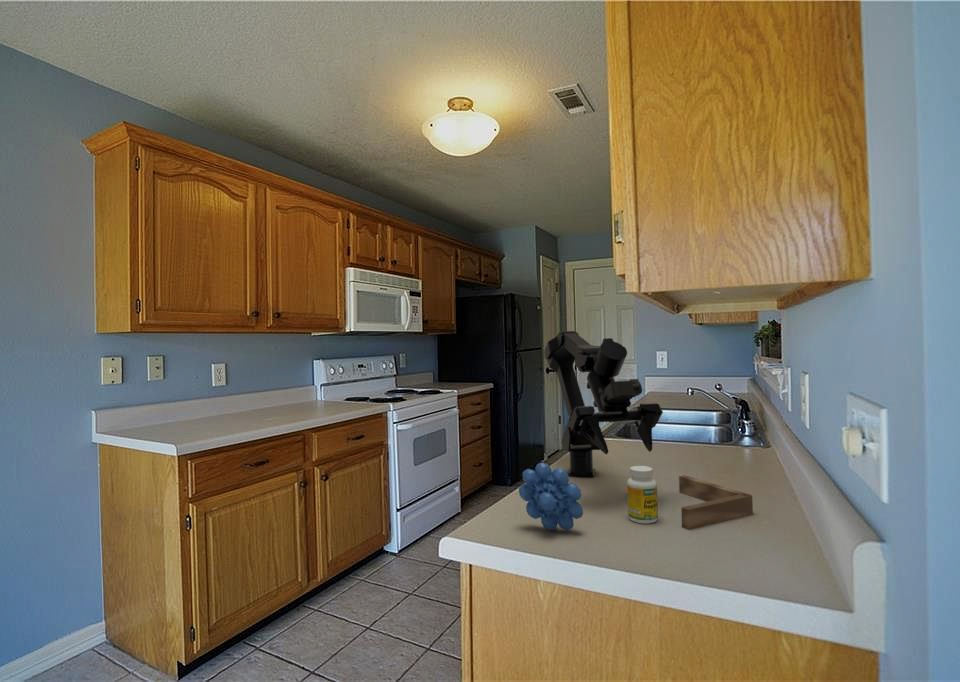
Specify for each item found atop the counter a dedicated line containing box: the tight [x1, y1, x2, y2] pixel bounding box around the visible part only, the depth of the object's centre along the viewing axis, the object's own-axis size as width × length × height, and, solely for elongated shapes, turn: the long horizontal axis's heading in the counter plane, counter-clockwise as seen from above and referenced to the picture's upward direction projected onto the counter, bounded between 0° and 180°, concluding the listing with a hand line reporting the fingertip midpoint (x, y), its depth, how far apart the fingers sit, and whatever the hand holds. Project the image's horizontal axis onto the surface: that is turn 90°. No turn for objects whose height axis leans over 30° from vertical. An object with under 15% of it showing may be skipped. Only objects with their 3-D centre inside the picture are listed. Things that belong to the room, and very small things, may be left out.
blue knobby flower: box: [518, 462, 584, 531], centre depth 87 cm, size 12×7×12 cm, turn 70°
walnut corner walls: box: [678, 474, 754, 531], centre depth 97 cm, size 16×17×4 cm
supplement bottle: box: [626, 465, 659, 525], centre depth 92 cm, size 5×5×10 cm
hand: (629, 451), depth 97 cm, fingers open, 9 cm apart
